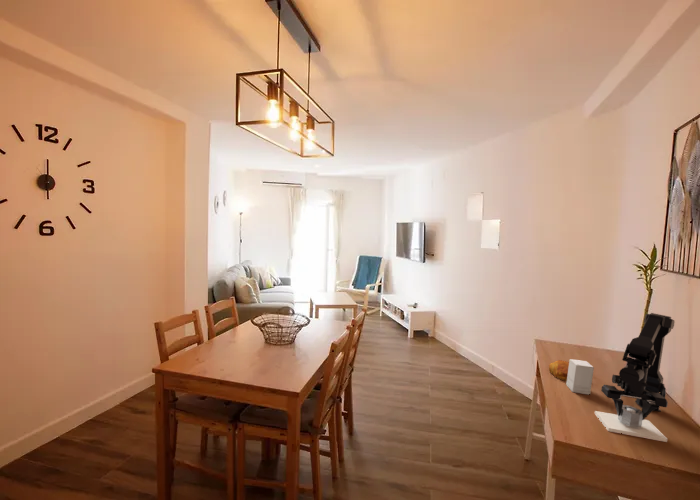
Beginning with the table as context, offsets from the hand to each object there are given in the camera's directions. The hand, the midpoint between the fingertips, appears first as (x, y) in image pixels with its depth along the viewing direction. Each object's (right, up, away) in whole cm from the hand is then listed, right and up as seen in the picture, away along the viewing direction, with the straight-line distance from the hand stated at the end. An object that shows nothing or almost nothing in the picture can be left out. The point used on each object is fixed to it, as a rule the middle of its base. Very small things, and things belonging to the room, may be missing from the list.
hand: (630, 417), depth 132 cm
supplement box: (-1, -1, +28) cm, 28 cm away
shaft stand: (0, -4, 0) cm, 4 cm away
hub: (0, -2, 0) cm, 2 cm away
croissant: (+2, 0, +42) cm, 42 cm away
